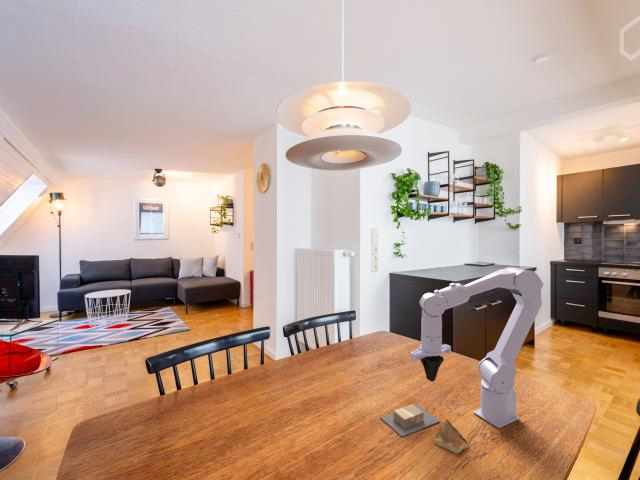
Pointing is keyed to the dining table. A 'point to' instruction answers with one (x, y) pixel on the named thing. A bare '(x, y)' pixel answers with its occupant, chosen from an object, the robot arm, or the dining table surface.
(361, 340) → the dining table surface
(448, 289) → the robot arm
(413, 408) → the beech block
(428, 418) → the felt mat
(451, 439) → the shard
